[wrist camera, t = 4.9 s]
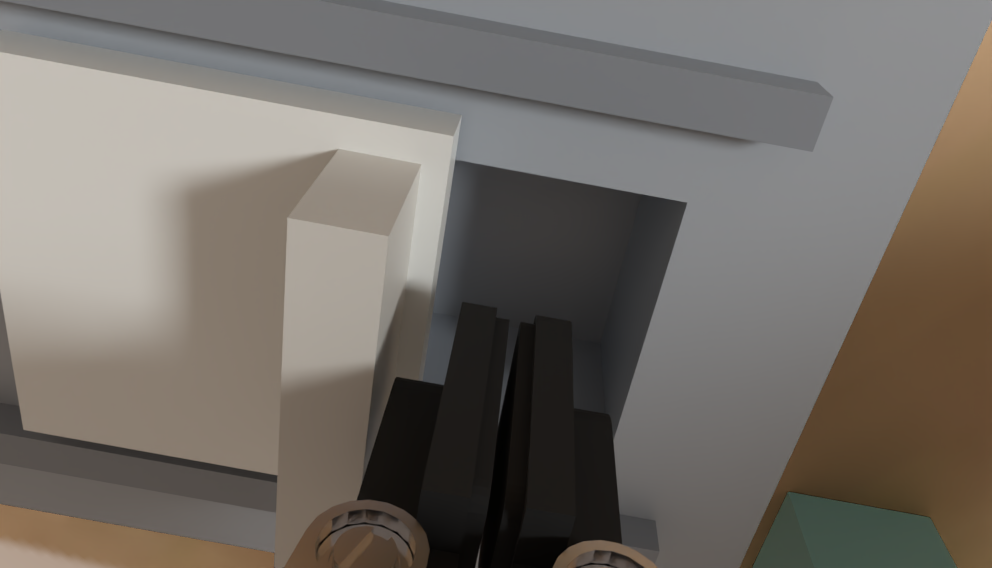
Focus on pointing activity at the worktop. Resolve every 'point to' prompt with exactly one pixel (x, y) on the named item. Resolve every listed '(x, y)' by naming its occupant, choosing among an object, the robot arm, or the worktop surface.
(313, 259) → the shutter
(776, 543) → the teal rectangular bottle
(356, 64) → the grey flat box
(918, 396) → the worktop surface
